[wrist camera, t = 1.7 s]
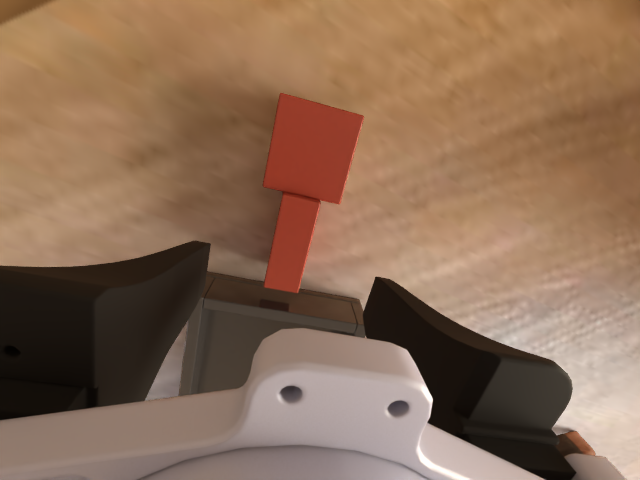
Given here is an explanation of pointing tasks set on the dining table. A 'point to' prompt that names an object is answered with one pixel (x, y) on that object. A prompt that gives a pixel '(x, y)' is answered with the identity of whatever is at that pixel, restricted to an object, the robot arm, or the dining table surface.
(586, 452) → the brown openwork arch
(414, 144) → the dining table surface
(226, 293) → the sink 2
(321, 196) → the brush
